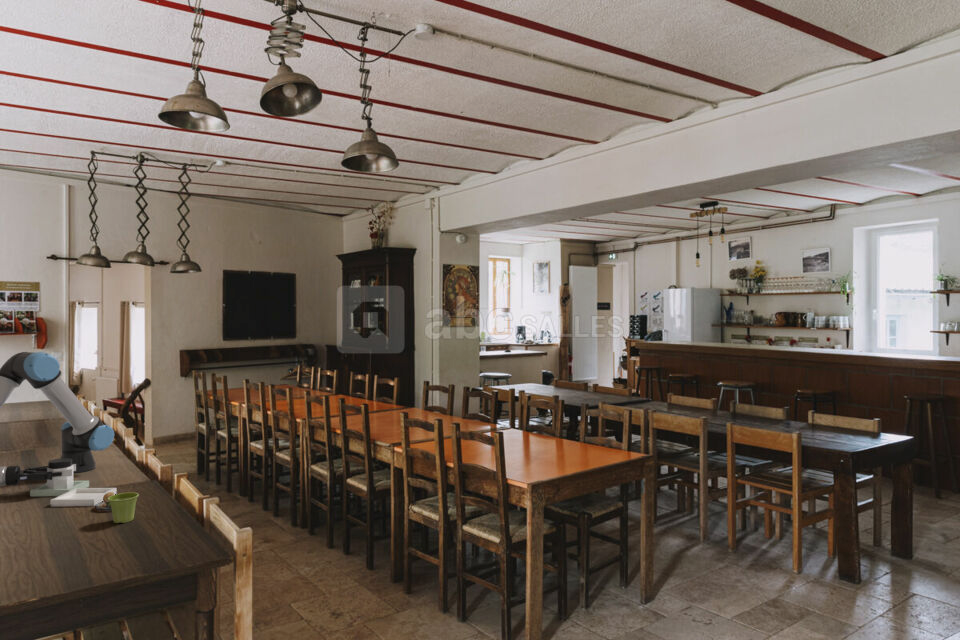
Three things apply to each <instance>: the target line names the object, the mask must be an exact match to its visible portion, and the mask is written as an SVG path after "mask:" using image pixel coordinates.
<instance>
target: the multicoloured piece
mask: <svg viewBox="0 0 960 640" xmlns="http://www.w3.org/2000/svg"><path fill="white" fill-rule="evenodd" d="M105 492H106V491H105ZM113 495H114V492H109V493H107V494H105V495H104V497H103V502H100V503H98V504H96V505H95V506H94V511H95V512H98V513H112V509H111V504H110V502H109V500H108V497H110V496H113Z"/></svg>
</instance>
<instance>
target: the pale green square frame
mask: <svg viewBox="0 0 960 640" xmlns="http://www.w3.org/2000/svg"><path fill="white" fill-rule="evenodd" d="M75 488H90V480H74V486H72V487H70V488H68V489H47V482H46V483H44V484H42V485H40V486H36V487H34V488H32V489H30V490H29V496H30V497H58V496H60V495H62V494H65V493H67V492H69V491H71V490H73V489H75Z"/></svg>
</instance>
